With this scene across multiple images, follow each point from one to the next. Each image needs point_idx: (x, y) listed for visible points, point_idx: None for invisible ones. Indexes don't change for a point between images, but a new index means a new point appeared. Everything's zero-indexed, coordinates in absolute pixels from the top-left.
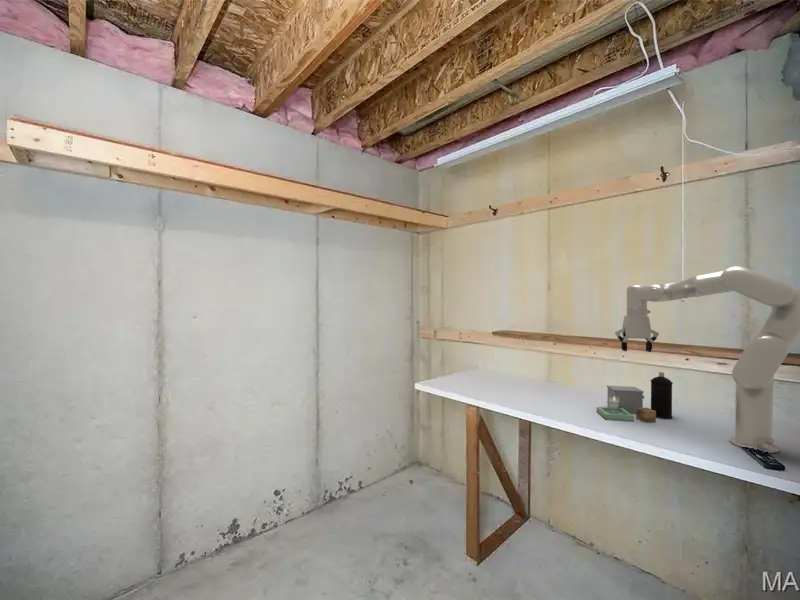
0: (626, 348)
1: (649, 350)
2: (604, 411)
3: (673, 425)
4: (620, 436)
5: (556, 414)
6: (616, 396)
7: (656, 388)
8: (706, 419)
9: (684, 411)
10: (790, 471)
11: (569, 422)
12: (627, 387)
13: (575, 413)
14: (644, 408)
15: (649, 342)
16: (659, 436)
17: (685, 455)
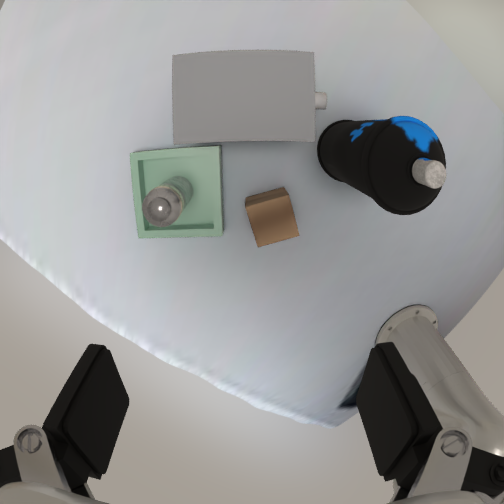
0: (116, 423)
1: (359, 409)
2: (140, 208)
3: (331, 240)
4: (153, 342)
5: (34, 216)
6: (166, 210)
7: (360, 184)
8: (451, 170)
9: (440, 97)
10: None
11: (59, 274)
12: (268, 71)
13: (74, 190)
14: (273, 209)
15: (398, 473)
16: (243, 329)
17: (243, 397)
